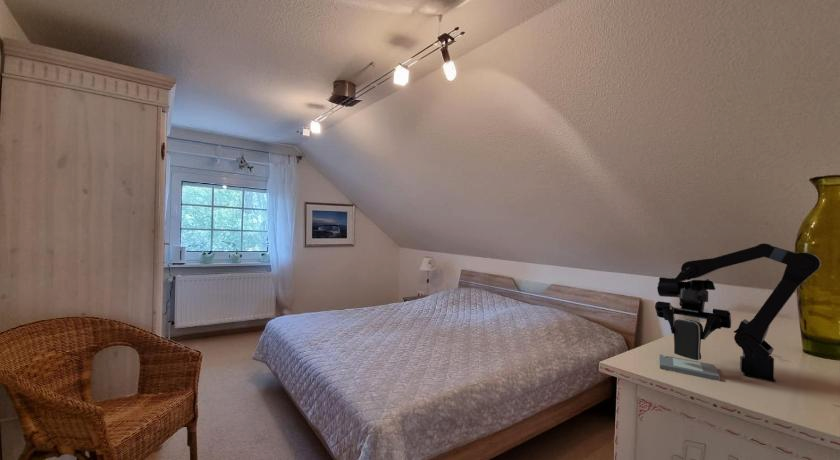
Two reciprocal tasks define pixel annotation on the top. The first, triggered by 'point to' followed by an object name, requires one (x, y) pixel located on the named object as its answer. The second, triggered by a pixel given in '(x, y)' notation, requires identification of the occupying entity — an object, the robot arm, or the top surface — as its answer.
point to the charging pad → (689, 367)
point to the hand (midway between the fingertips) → (687, 335)
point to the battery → (688, 338)
